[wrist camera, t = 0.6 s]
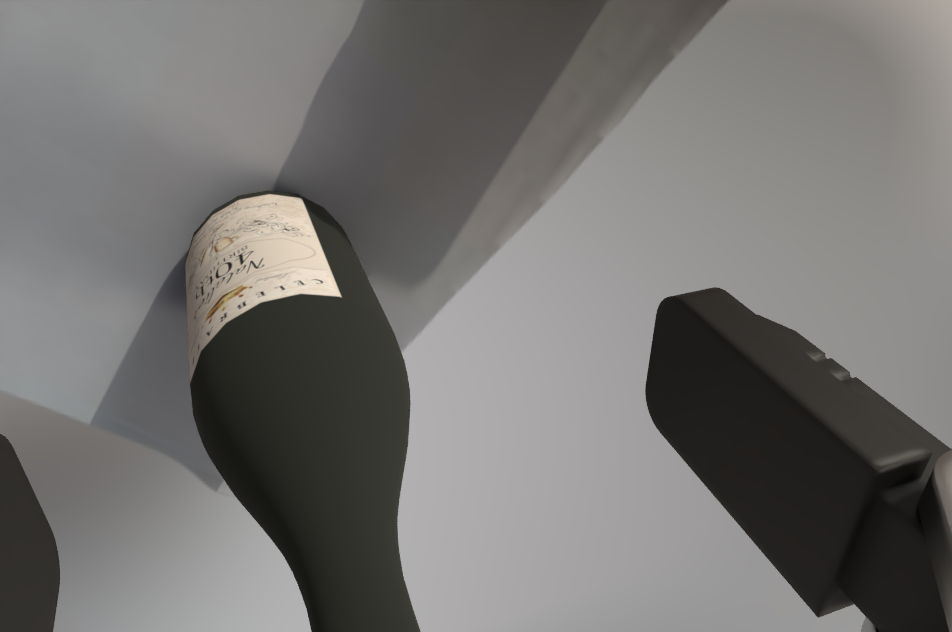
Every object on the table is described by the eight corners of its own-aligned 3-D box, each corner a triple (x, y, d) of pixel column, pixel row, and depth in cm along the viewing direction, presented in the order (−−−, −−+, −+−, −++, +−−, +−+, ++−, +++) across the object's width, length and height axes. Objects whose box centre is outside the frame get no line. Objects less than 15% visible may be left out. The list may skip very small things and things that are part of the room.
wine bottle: (147, 255, 35) (99, 1122, 11) (275, 149, 34) (522, 805, 10) (264, 352, 40) (413, 1103, 16) (378, 261, 39) (711, 886, 15)
